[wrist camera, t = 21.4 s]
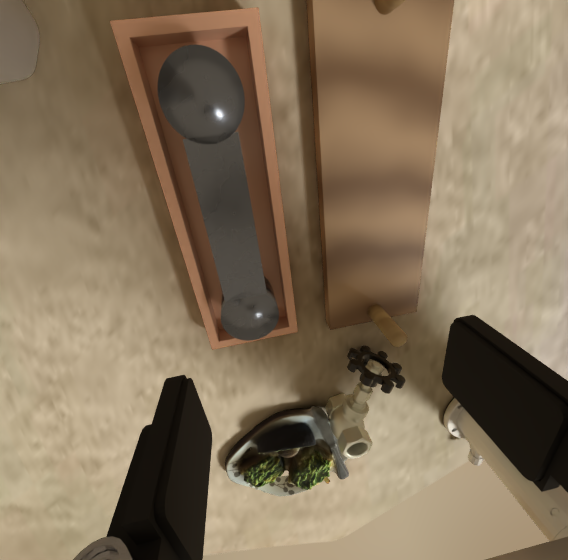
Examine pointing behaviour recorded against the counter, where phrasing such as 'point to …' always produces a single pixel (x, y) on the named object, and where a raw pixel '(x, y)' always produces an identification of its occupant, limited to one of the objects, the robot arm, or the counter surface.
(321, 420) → the salad plate
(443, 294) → the counter surface
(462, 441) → the counter surface
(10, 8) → the paper bag
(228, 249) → the grey long knobbed bar
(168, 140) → the slot holder
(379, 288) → the board
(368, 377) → the valve
